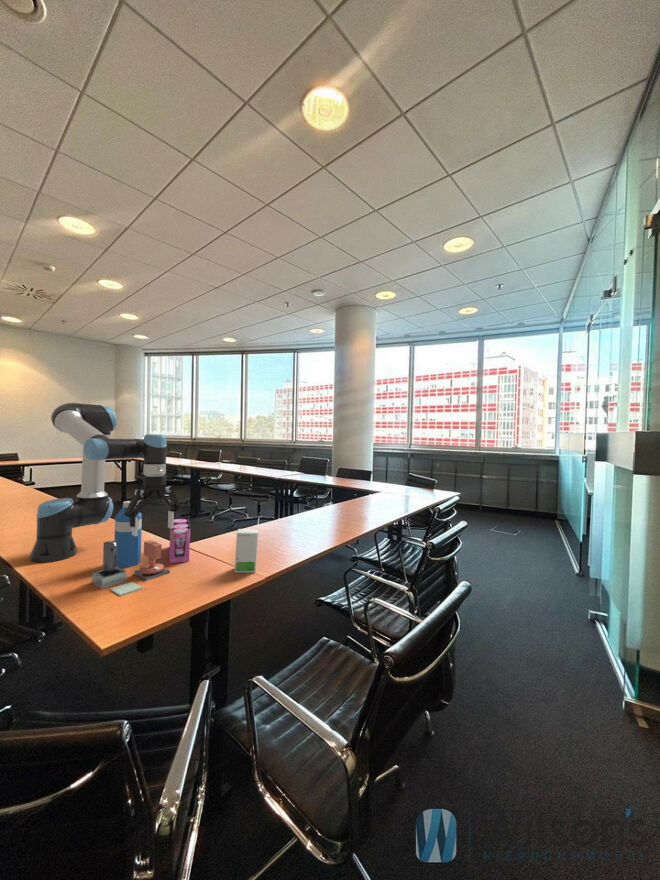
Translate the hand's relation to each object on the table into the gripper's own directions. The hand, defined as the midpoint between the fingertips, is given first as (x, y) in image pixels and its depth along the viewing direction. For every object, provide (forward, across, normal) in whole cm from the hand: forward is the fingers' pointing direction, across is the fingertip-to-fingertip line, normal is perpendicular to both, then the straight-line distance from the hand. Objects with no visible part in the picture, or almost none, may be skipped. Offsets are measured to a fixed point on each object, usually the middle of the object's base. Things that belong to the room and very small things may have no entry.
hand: (153, 531), depth 129 cm
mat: (+16, -12, -6) cm, 21 cm away
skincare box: (+16, +25, -24) cm, 38 cm away
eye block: (+16, -13, +4) cm, 21 cm away
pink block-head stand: (+15, 0, 0) cm, 15 cm away
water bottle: (+16, -1, +18) cm, 24 cm away
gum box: (+16, +18, +13) cm, 28 cm away
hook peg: (+16, -13, +4) cm, 21 cm away
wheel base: (+16, 0, 0) cm, 16 cm away
